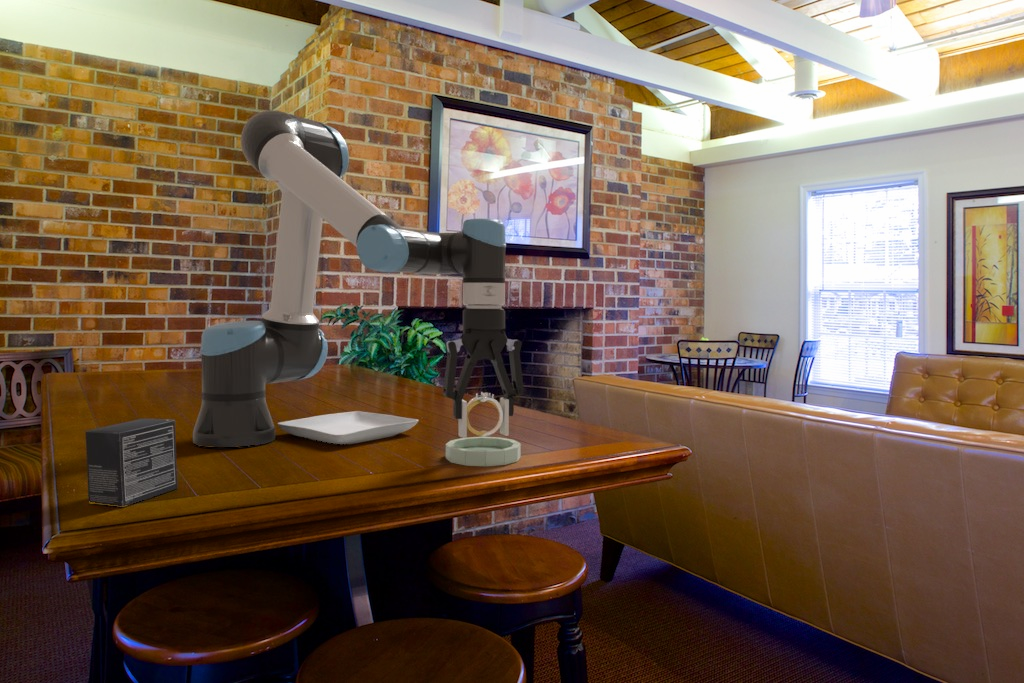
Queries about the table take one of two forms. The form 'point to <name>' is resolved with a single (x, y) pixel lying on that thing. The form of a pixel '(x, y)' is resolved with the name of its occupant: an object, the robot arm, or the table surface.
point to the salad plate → (348, 427)
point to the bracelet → (477, 400)
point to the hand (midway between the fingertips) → (483, 435)
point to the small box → (131, 461)
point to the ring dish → (483, 451)
